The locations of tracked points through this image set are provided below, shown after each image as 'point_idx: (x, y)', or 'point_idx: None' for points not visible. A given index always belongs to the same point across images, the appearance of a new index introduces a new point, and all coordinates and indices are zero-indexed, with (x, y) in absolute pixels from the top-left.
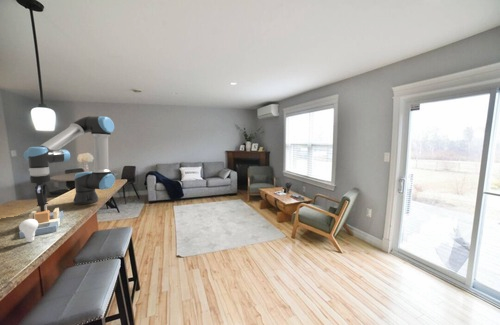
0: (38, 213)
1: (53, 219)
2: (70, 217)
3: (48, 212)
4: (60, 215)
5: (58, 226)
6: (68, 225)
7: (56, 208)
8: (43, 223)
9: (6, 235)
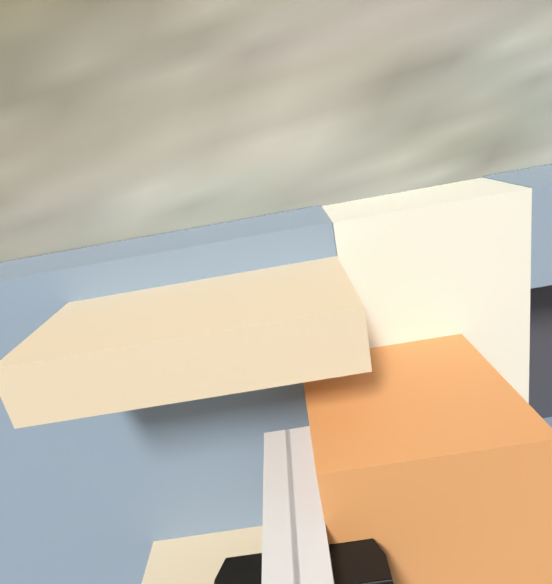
0: (507, 577)
1: (378, 296)
2: (69, 126)
3: (460, 437)
4: (168, 255)
5: (504, 173)
6: (528, 27)
7: (55, 396)
8: (527, 370)
9: None
